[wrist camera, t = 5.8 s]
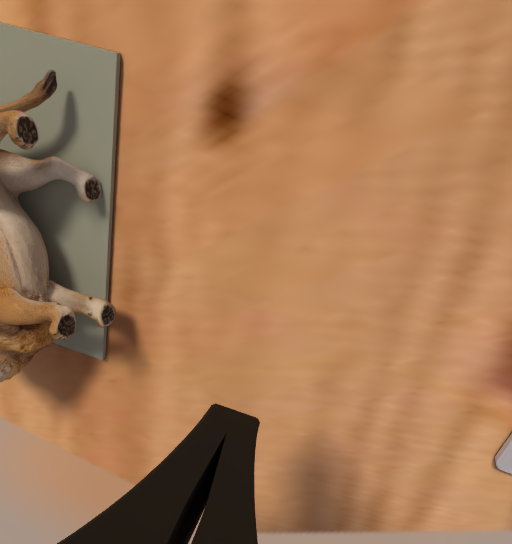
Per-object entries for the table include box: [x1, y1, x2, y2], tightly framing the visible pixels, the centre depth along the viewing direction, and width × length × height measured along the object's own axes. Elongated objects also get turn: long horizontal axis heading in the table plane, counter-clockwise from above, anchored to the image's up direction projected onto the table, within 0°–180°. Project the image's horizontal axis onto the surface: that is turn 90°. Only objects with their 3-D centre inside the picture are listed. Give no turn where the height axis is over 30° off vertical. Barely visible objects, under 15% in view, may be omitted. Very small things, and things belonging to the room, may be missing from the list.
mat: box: [0, 22, 121, 360], centre depth 22 cm, size 12×16×1 cm
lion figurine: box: [0, 69, 116, 382], centre depth 20 cm, size 15×5×9 cm
